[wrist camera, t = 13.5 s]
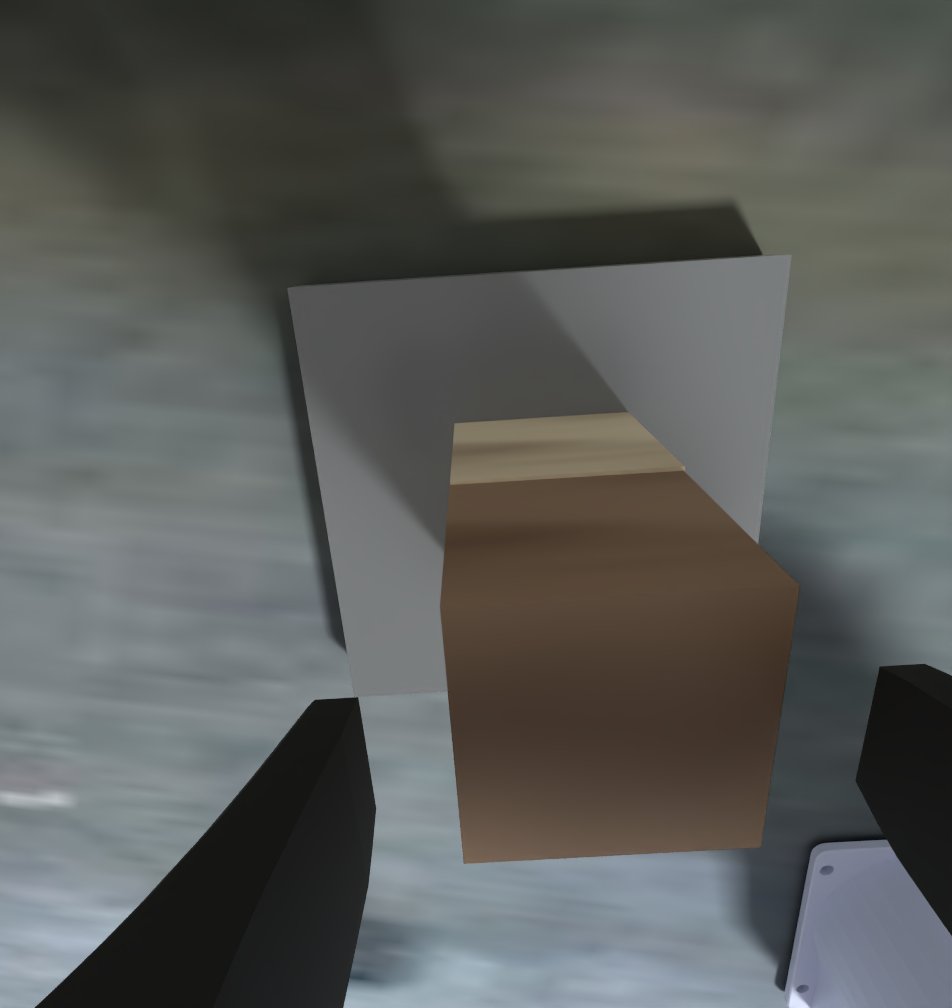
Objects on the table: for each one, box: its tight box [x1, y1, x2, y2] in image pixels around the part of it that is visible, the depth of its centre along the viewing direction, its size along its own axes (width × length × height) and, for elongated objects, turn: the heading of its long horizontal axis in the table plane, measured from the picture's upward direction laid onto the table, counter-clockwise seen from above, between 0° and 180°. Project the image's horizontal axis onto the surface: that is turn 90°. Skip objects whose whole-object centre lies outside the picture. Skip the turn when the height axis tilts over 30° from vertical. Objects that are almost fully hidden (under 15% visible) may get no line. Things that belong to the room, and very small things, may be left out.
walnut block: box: [440, 471, 800, 864], centre depth 11 cm, size 4×4×4 cm
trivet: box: [287, 254, 792, 697], centre depth 18 cm, size 12×12×2 cm
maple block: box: [450, 412, 685, 485], centre depth 15 cm, size 4×4×4 cm
